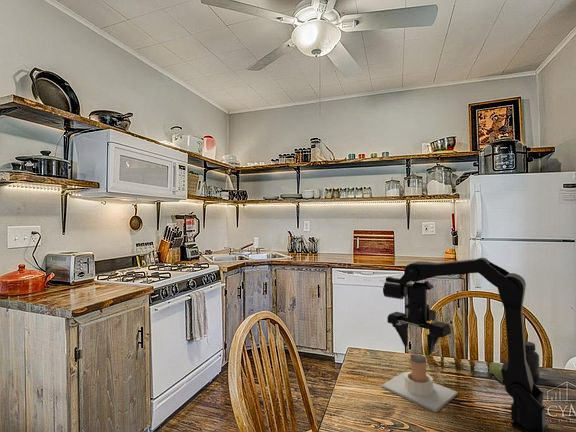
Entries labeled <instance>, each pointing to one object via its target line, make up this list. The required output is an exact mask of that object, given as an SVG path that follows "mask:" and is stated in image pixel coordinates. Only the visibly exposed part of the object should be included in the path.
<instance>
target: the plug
mask: <svg viewBox="0 0 576 432" xmlns="http://www.w3.org/2000/svg"><path fill="white" fill-rule="evenodd" d="M410 366H411V367H410V368H411V369H410V371H411V380H412V381H415V382H420V383H424V382H426V374H427V357H426V356H424V355H423V354H417V353H415V354H411V356H410Z"/></svg>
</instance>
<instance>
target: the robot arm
mask: <svg viewBox="0 0 576 432" xmlns="http://www.w3.org/2000/svg"><path fill="white" fill-rule="evenodd" d="M404 268H405V269H404V274H403V275H402V276H401V277H400V278H398V277H393V276H386V277H385V281H384V283H383V288H382V293H383V296H384V297H385V298H390V299H397V300H404V298H406V297H407V298H406V299H407V300H406V301H407V304H405V306H404V307H405V309H407V314H406V313H405V312H401V311H395V312H391V313H389V314H388V316H387V318H386V319H387V321H386V322H387V324H391V325H392V327H393V328H394V329H395V331H396V332H397V334H398V336H399V338H400V340H401V342H402V344H403V346H404V348H405V347H406V348H407V347H408V344H409V340H408V339H409V337H408V328H409V325H411V326H415V327H419V328H423V329H424V330H425V329H426V330H428V332H429V333H428V334H426V340H427V341H426V342H427V352H428V355H430V356H431V355H432V354H433V352H434V349H435V347H436V343H437V341H438V339H439V338H445V337H447V336H449V335H450V334H451V333H452V330H451V325H449V323H446V322H441V321H436V318H437V317H436V315H437V311H436V310H433V309H431V308H430V305H429V304H428V302H427V301H428V300H427V295H428V294H427V290H428V291H430V290H432V289H434V285H432V284H431V283H430V282H429V280H428V279H431V278H432V279H433V278H434V277H441V276H442V277H443V276H453V275H465V274H468V275H469V274H479V275H480V276H482V277H483V278H484V279H486V281H488V282H489V283H490V284H492V285H493V286H494V287H496V288H497V291H498V295H499V297H500V298H499V299H500V301H501V304H502V307H503V308H504V315H505V316H504V317H505V329H506V331H505V332H506V341H507V342H506V343H507V353H508V354H507V355H508V356H507V357H508V362H506V361H503V363H502V365H503V366H502V368H501V372H502V376H503V382H501V385H502V386H504V388H505V391H506V393H507V394H508V395H509V396H510V397H511V398H512V399H513V402H512V403H511V405H510V417H511V421H512V422H511V427H514V428H516V429H517V430H520V431H523V432H547V430H548V428H549V426H548V425H547V423H546V422H547V421H546V406H545V405H543V403H544V392H543V391H542V389H540V388H539V387H538V386H537V385H536V384H535V383H534V382H533V378H532V375H531V371H530V368H529V366H528V363H527V361H526V352H525V341H526V340H525V327H524V326H525V325H524V316H523V315H524V314H523V305H524V301H525V296H526V295H525V294H526V289H527V288H526V286H527V285H526V284H527V283H526V280H525V278H524V277H523V276H522V275H520V274H518V273H513V272H511V273H510V272H509V271H508V270H506V269H505V268H503V267H501V266H499V265H497V264H495V263H493V262H491V261H490V260H488V259H487V258H485V257H478V258H473V259H466V260H465V259H464V260H456V261H444V262H431V261H415V262H412V263H409V264H407V265H406V267H404ZM424 280H425V281H424ZM420 281H424V282H420ZM411 282H414V283H411ZM431 321H433V322H434V323H430V322H431Z"/></svg>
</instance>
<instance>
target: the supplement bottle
mask: <svg viewBox="0 0 576 432" xmlns="http://www.w3.org/2000/svg"><path fill="white" fill-rule="evenodd" d="M525 352H526V361H527V363H528V366H529V368H530V371H531V375H532V378H533V382H534V384H535V383H538V382H540V379H541V378H540V375H541V374H540V355H539V353H538V352H537V349H536V343H534V342H531V341H527V340H525Z"/></svg>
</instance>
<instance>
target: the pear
mask: <svg viewBox="0 0 576 432" xmlns="http://www.w3.org/2000/svg"><path fill="white" fill-rule="evenodd" d="M502 366H503V363H502V364H501V363H497V362H492V363H491V364H490V363H489V365H488V369H489V371H488V374H489V375H493V376H494V377H495V378H496V379H497V380H498V381H499V382H501V383H502V382H503V376H502V372H501V368H502Z"/></svg>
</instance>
